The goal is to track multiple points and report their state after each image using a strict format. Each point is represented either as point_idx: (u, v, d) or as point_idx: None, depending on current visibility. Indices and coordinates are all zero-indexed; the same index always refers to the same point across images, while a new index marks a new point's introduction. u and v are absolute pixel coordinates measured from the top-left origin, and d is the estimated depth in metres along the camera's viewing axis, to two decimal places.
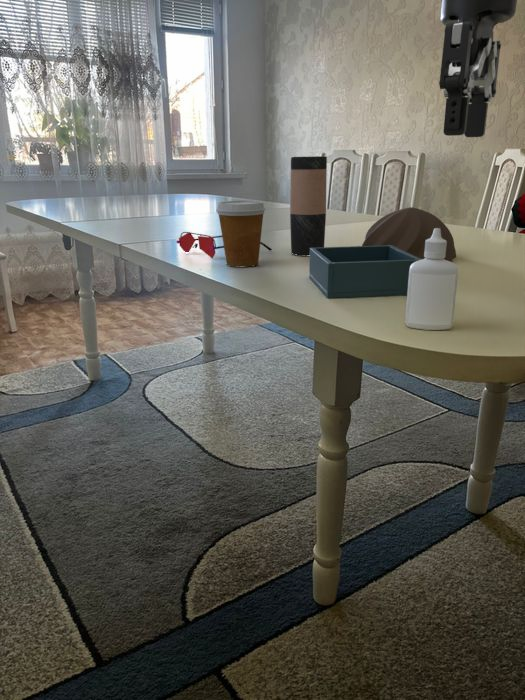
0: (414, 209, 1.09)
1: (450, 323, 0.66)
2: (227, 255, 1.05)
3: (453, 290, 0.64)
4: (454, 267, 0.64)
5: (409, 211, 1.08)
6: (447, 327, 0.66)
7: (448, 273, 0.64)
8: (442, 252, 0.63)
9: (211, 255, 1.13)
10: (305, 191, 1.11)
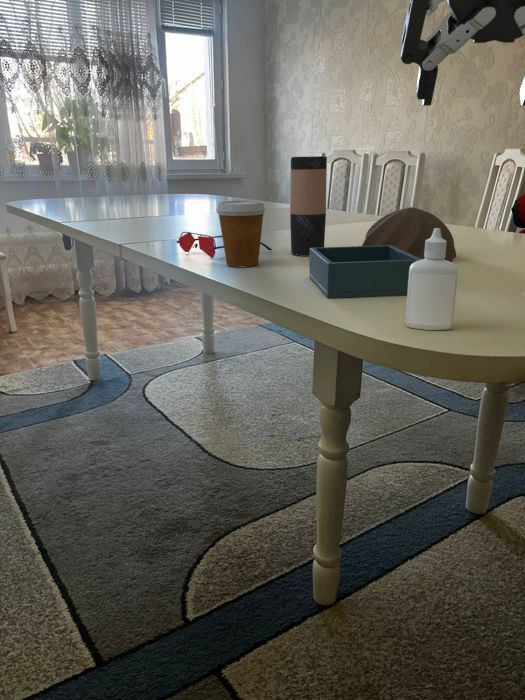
0: (414, 209, 1.09)
1: (450, 323, 0.66)
2: (227, 255, 1.05)
3: (453, 290, 0.64)
4: (454, 267, 0.64)
5: (409, 211, 1.08)
6: (447, 327, 0.66)
7: (448, 273, 0.64)
8: (442, 252, 0.63)
9: (211, 255, 1.13)
10: (305, 191, 1.11)
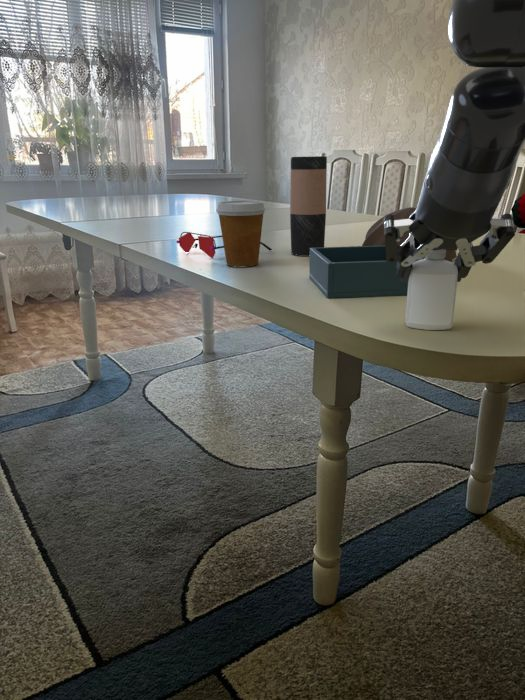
0: (414, 209, 1.09)
1: (450, 323, 0.66)
2: (227, 255, 1.05)
3: (453, 290, 0.64)
4: (454, 267, 0.64)
5: (409, 211, 1.08)
6: (447, 327, 0.66)
7: (448, 273, 0.64)
8: (442, 252, 0.63)
9: (211, 255, 1.13)
10: (305, 191, 1.11)
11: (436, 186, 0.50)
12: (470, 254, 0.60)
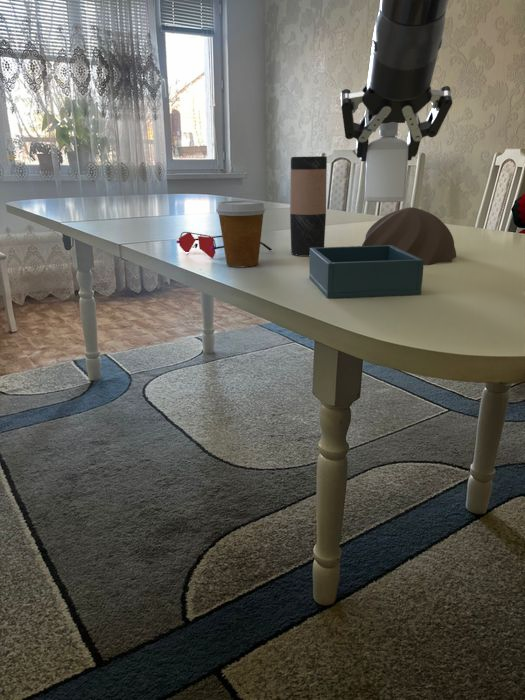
0: (414, 209, 1.09)
1: (403, 195, 0.75)
2: (227, 255, 1.05)
3: (404, 164, 0.74)
4: (405, 143, 0.73)
5: (409, 211, 1.08)
6: (400, 199, 0.75)
7: (399, 147, 0.73)
8: (394, 129, 0.73)
9: (211, 255, 1.13)
10: (305, 191, 1.11)
11: (379, 46, 0.60)
12: (416, 124, 0.69)
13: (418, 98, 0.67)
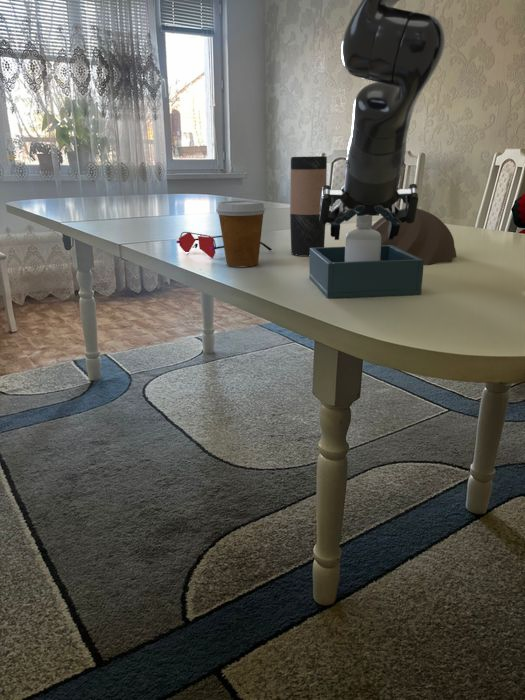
0: None
1: None
2: (227, 255, 1.05)
3: (378, 252, 0.85)
4: (378, 234, 0.85)
5: None
6: None
7: (373, 238, 0.84)
8: (368, 223, 0.84)
9: (211, 255, 1.13)
10: (305, 191, 1.11)
11: (351, 165, 0.71)
12: (391, 216, 0.80)
13: None
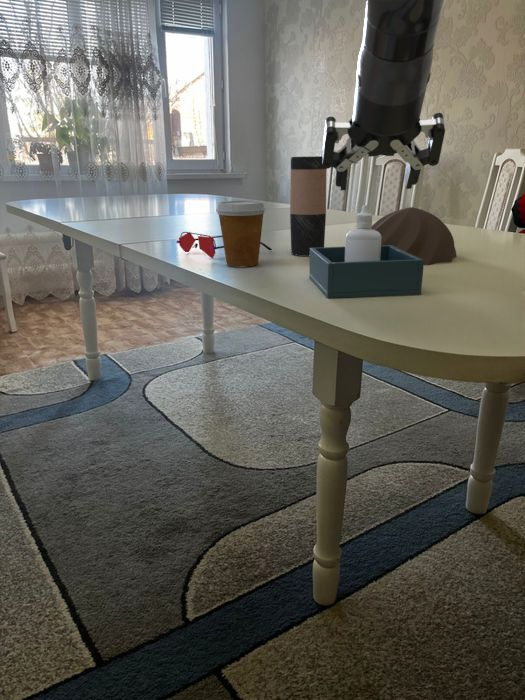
0: (414, 209, 1.09)
1: None
2: (227, 255, 1.05)
3: (378, 252, 0.85)
4: (378, 234, 0.85)
5: (409, 211, 1.08)
6: None
7: (373, 238, 0.84)
8: (368, 223, 0.84)
9: (211, 255, 1.13)
10: (305, 191, 1.11)
11: (363, 81, 0.56)
12: (411, 155, 0.65)
13: (407, 131, 0.63)
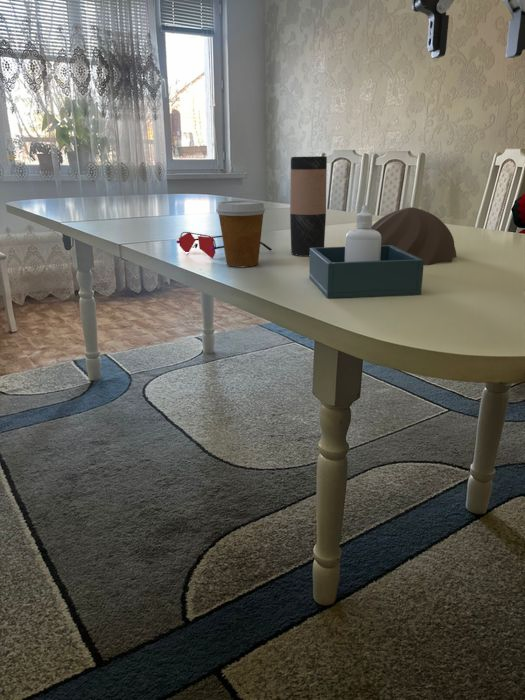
0: (414, 209, 1.09)
1: None
2: (227, 255, 1.05)
3: (378, 252, 0.85)
4: (378, 234, 0.85)
5: (409, 211, 1.08)
6: None
7: (373, 238, 0.84)
8: (368, 223, 0.84)
9: (211, 255, 1.13)
10: (305, 191, 1.11)
11: None
12: None
13: None
